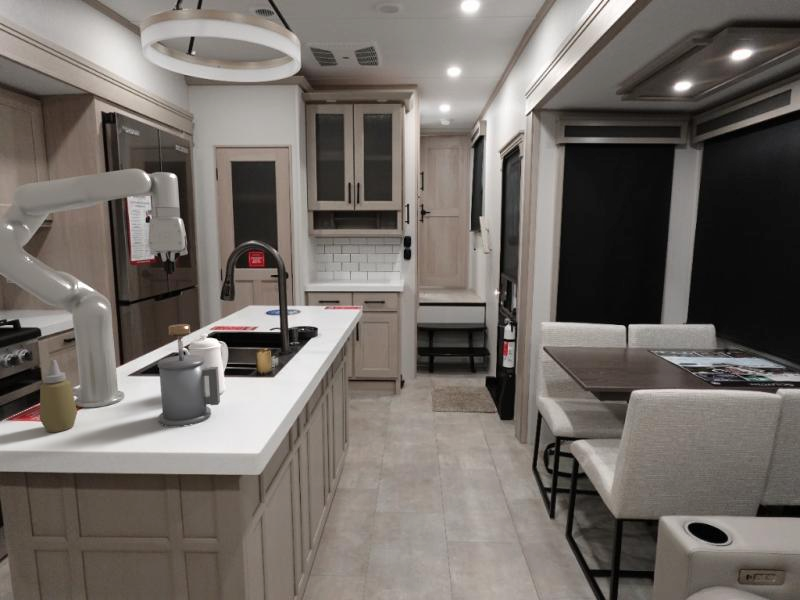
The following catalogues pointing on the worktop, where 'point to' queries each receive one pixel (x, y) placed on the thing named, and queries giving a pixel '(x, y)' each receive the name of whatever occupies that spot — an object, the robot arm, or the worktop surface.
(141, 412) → the worktop surface
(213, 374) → the press carafe
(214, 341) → the coffeepot
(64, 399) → the squeeze bottle
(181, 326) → the plunger
